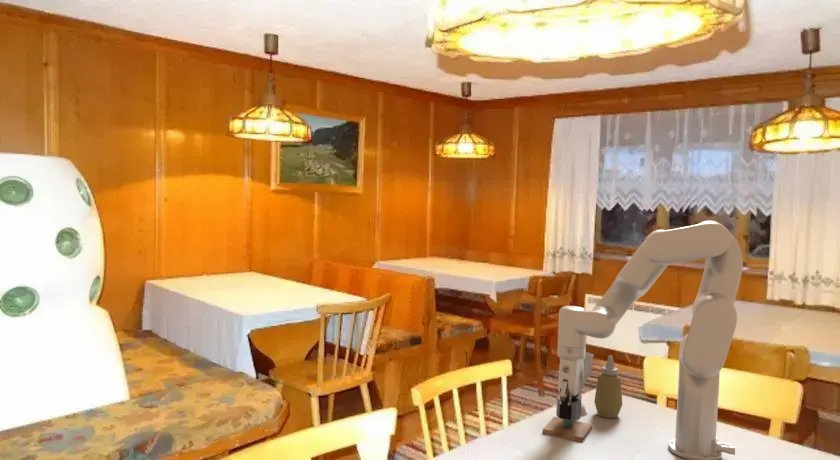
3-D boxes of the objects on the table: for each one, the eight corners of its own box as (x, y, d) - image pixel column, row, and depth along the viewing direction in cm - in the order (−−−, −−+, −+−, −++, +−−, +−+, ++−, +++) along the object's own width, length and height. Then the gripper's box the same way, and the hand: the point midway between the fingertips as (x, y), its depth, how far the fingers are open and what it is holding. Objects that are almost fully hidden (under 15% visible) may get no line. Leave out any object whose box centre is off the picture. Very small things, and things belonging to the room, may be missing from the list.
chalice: (588, 409, 186) (591, 351, 185) (593, 417, 179) (595, 357, 178) (564, 408, 186) (567, 350, 185) (567, 416, 180) (570, 356, 179)
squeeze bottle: (620, 411, 184) (623, 353, 183) (623, 421, 177) (626, 360, 176) (593, 409, 186) (595, 351, 185) (594, 418, 178) (597, 358, 177)
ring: (582, 415, 169) (583, 397, 169) (577, 422, 164) (577, 404, 163) (560, 410, 172) (560, 393, 172) (553, 417, 167) (554, 399, 166)
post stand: (592, 428, 170) (593, 400, 170) (582, 442, 161) (584, 411, 160) (554, 420, 176) (555, 392, 175) (542, 433, 166) (543, 403, 166)
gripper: (577, 360, 157) (574, 427, 158) (592, 346, 173) (589, 408, 174) (548, 356, 161) (546, 421, 162) (566, 342, 176) (563, 403, 177)
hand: (568, 414), depth 168 cm, fingers closed on ring, 6 cm apart
